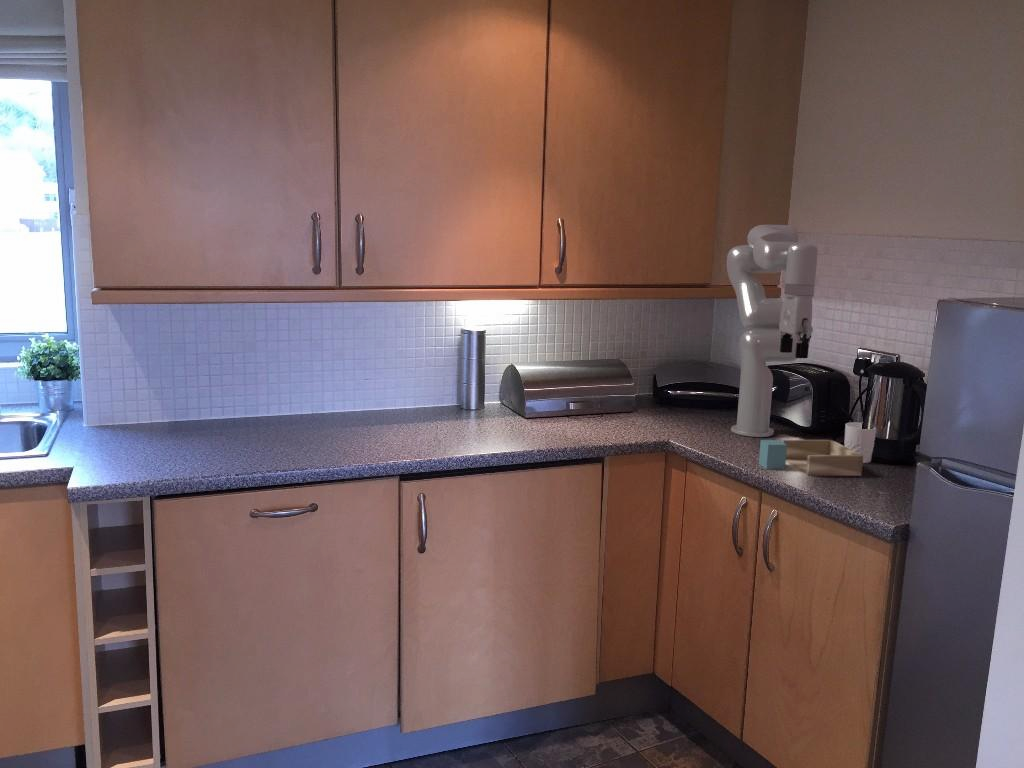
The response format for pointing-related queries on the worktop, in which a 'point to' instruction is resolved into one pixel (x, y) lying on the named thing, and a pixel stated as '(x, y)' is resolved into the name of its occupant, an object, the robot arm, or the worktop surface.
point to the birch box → (823, 458)
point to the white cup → (860, 440)
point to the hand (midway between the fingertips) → (793, 355)
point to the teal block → (772, 454)
